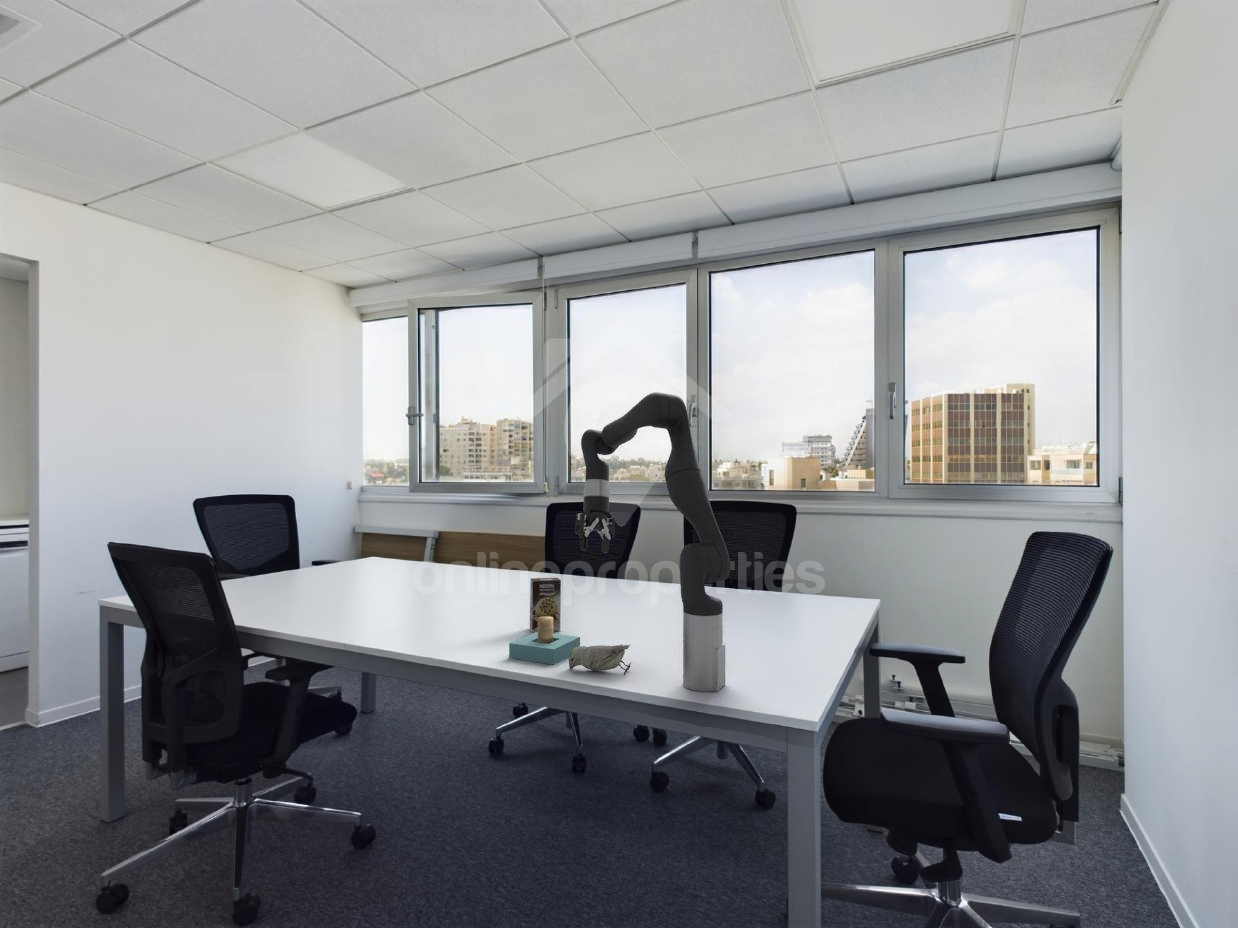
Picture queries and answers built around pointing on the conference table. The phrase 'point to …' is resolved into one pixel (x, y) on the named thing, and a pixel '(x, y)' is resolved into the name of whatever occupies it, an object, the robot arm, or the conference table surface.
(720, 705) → the conference table surface
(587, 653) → the decorative bird
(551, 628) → the peg
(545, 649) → the socket block
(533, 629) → the coffee box
